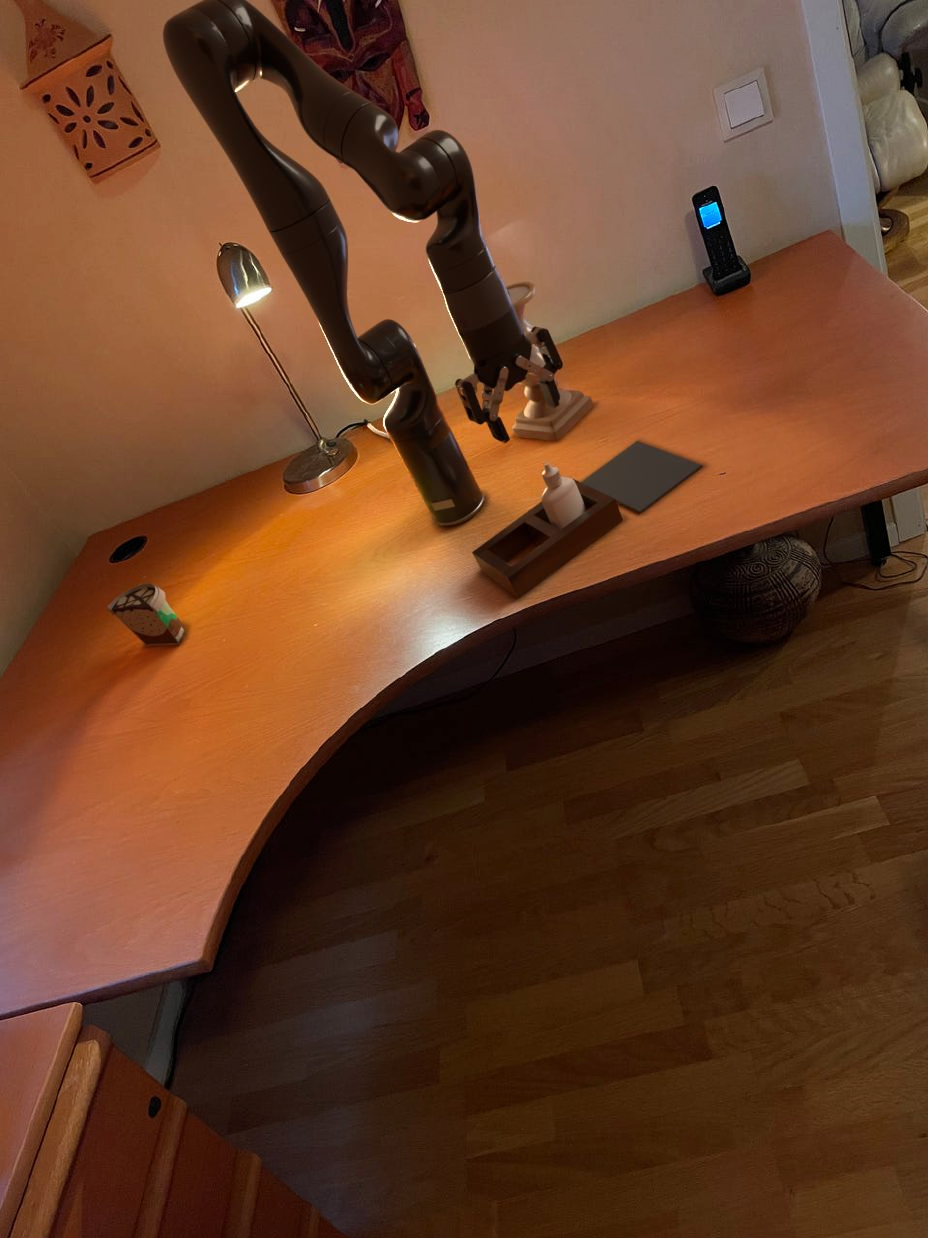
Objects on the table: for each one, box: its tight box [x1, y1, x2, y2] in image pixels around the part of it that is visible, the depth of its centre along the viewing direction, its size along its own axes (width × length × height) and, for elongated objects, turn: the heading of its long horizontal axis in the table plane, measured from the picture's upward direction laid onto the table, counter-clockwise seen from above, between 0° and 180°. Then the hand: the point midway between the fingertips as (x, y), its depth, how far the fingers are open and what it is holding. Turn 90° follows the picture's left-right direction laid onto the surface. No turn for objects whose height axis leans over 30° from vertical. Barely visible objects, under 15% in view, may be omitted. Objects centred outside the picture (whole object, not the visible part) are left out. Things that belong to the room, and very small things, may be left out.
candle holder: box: [506, 281, 595, 442], centre depth 143 cm, size 11×11×24 cm
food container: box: [107, 582, 187, 646], centre depth 148 cm, size 12×6×10 cm, turn 65°
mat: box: [580, 440, 703, 514], centre depth 126 cm, size 15×12×1 cm
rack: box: [471, 478, 624, 600], centre depth 121 cm, size 11×19×4 cm, turn 118°
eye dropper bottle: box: [540, 461, 587, 530], centre depth 119 cm, size 4×6×12 cm
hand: (529, 422), depth 112 cm, fingers open, 8 cm apart
